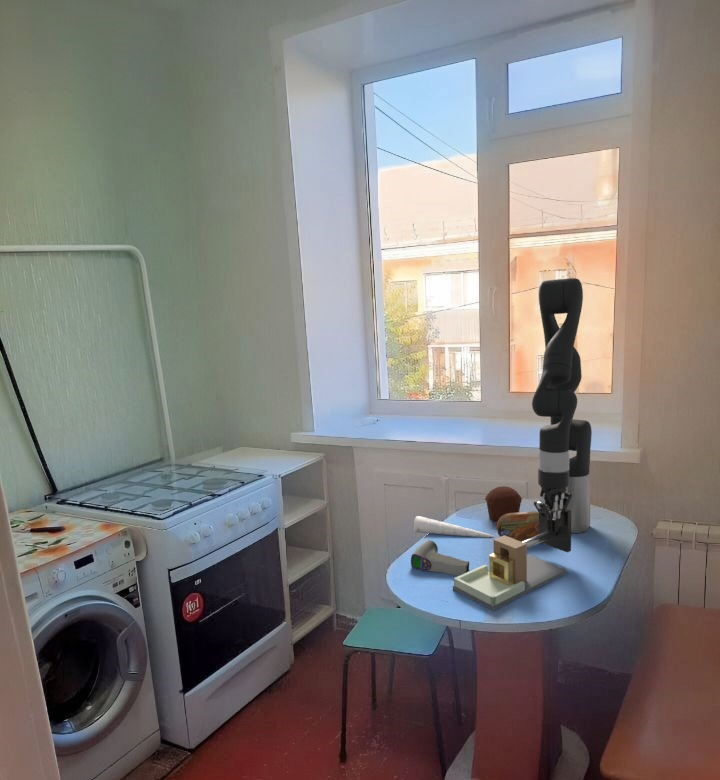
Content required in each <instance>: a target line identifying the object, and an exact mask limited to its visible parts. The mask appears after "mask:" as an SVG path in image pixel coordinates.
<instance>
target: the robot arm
mask: <svg viewBox="0 0 720 780" xmlns="http://www.w3.org/2000/svg"><path fill="white" fill-rule="evenodd" d="M583 290H584V289H583V285H582V282H581V280H580V279H579V278H574V277H570V278H559V279H558V278H557V279H550V280H549V279H548V280H543V281H542V282H540V284H539V287H538V306H539V310H540V311H539V312H540V317H541V323H542V329H543V336H544V344H545V345H544V346H545V347H544V348H545V351H544V352H543V353H544V354H543V362H542V363H543V364H542V372H541V376H540V380H539V383H538V385H537V388H536V390H535V392H534V394H533V398H532V401H531V407H532V411H533V412H534V413H535V415H536V416H538V417H542V418H543V417H545V418H546V417H548V418H550V424H549V425H548V424H547V425H544V426H542V427H541V428H540V429H539V446H538V447H539V449H538V457H537V458H538V460H537V462H538V463H537V466H538V467H537V469H538V470H537V482H538V485H539V486H540V488H541V490H540V493H539V496H540V497H539V499H538V501H537V500H535V501H534V502H533V505H534V507H535V509H536V510H537V512H539V514H540V515H541V517H543V518H547V530H548V532H549V533H552V534H554V533H557V532H558V527H559V526H558V525H559V518H560V515H561V514H562V515H563V514H564V513H565V511H566V509H567V510H571V534H575V533H576V534H577V533H579V534H581V533H585V532H587V531H589V528H590V527H591V495H590V465H591V446H592V431H593V430H592V425H591V423H590V422H589V421H587V420H584V419H573V418H574V416H575V412H576V409H577V406H578V398H577V395H576V393H575V392H576V390H577V388H578V387H579V385H580V383H581V381H582V376H583V375H582V363H581V362H582V361H581V356H580V353H579V351H578V350H577V349H576V347H575V341H576V338H577V333H578V328H579V323H580V318H581V313H582V308H583V301H584V292H583ZM561 314H566V317H565V319H564V321H563V323H562V324H561V326H559V324H558V322H557V319H556V316H555V315H561ZM569 451H573V452H574V451H575V452H576V455H575V456H572V457H570V453H569Z"/></svg>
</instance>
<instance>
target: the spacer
mask: <svg viewBox="0 0 720 780" xmlns="http://www.w3.org/2000/svg"><path fill="white" fill-rule="evenodd" d="M488 556H489V557H488V558H489V559H488V566H489V568H488V570H489V574H490V578H492V579H494V580H496V581H498V582H500V583H502V584H505V585H507V586H510V585H512V584H514V560H511V559H509V558H506V557H504V556H502V555H499V554H497V553H494V552H493V553H491V554H489V555H488ZM498 563H499V564H501V565H503V566H504V574H502V573H499V564H498Z"/></svg>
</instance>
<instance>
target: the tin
mask: <svg viewBox="0 0 720 780" xmlns="http://www.w3.org/2000/svg"><path fill="white" fill-rule="evenodd" d="M496 533H497V534H498V536H499V537H501V536H504V535H505V536H508V537H510V538H513V539H515V540H518V541H521V542H523V541H525V540H527V539H530V538H532V537H534V536H537V535H539V512H538V511H532V510H531V511H519V513H507V514H504V515H503V516H501V517H500V518H499V520H498V522H496Z"/></svg>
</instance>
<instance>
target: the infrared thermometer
mask: <svg viewBox="0 0 720 780" xmlns="http://www.w3.org/2000/svg"><path fill="white" fill-rule="evenodd" d="M438 550H439V548H438V545H437V544H436V542H435V541H433V540H431V539H426V540H424V542H422V543H421V544H420V545H419V546H418V547H416V549H415V550H414V551H413V552H412V554H411V555H410V566H411V568H412V569H413V570H419V571H422V572H427V571H428V572H433V573H440V574H441V573H442V574H448V575H453V576H455V575H456V576H460V575H462V574H465V573H467V572H469V571H470V561H468V560H462V559H459V558H457V557H454V556H449V555H446V554H442V553H439V552H438Z"/></svg>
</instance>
